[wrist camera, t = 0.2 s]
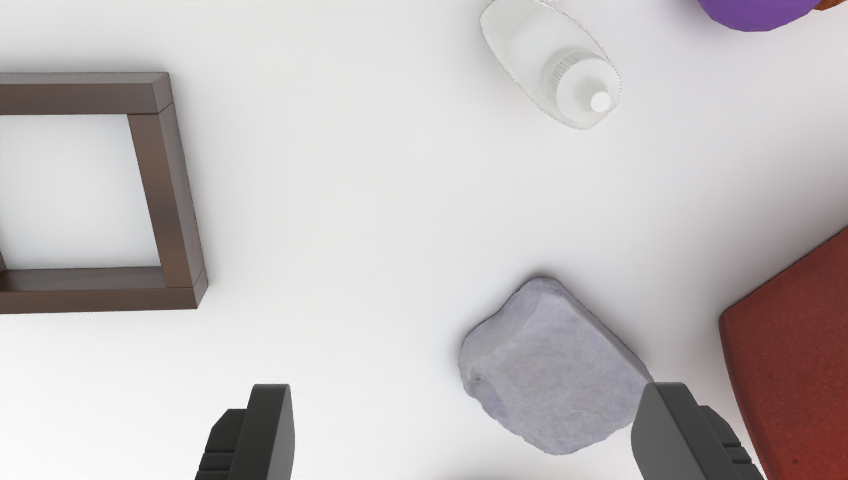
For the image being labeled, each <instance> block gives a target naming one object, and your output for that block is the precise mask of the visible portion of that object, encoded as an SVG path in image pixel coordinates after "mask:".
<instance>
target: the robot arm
mask: <svg viewBox="0 0 848 480" xmlns="http://www.w3.org/2000/svg"><path fill="white" fill-rule="evenodd" d="M631 445H632V451H633V455H634V458H635V460H636V462H637V465H638V467H639V469H640V471H641V474H642V476H643V478H644V480H764V478H763V477H762V475H761V473H760V472H759V470H758V469H757V467H756V466H755V464H752V459H751V458H750V456H749V455H748V453H747V452H746V450H745V449H744V447H741V442H740V441H739V439H738V438H737V436H736V435H735V433H734V431H733V430H732V428H731V427H730V425H729V424H728V423H727V422H726V421H725V420H724V419H723V418H722V417H720V416H719V415H718V414H717V413H716V412H715V411H714V410H712V409H711V408H710V407H709V406H698V404H697V402H696V401H695V399H694V397H693V396H692V394H691V393H690V391H689V389H688V388H687V386H686V385H685V384H683V383H681V382H650V383H647V384H646V385H645V387H644V390H643V393H642V396H641V400H640V403H639V406H638V410H637V413H636V417H635V420H634V423H633V427H632V431H631ZM294 449H295V431H294V421H293V411H292V401H291V391H290V386H289V384H255V385H254V386H253V388H252V392H251V395H250V399H249V402H248V406H247V409H228V410H227V411H226V412H225V413H224V414H223V416H222V417H221V418H220V419H219V420H218V421H217V423H216V424H215V425H214V426H213V427H212V429H211V432H210V435H209V438H208V441H207V444H206V447H205V453H203V456H202V459H201V462H200V465H199V471H197V474H196V477H195V480H290V478H291V472H292V466H293V459H294Z"/></svg>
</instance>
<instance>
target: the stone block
mask: <svg viewBox="0 0 848 480" xmlns="http://www.w3.org/2000/svg"><path fill="white" fill-rule="evenodd" d="M458 366H459V369H460V374H461V378H462V381H463V384H464V389H465V391H466V393H467V394H468V395H469V396H471V397H473V398H475V399H477V400H478V401H479V402H480V403H481V405H482V407H483V409H484V410H485V412H486V413H488V415H489V416H490V417H492V418H493V419H495V420H497V421H498V422H499V423H500V424H501V425H502V426H503V427H504V428H506V429H508V430H509V431H511V432H512V433H514V434H517V435H520V436H522V437H523V438H524V440H525V441H526V442H528V443H530V444H532V445H534V446H535V447H537V448H539V449H540V450H542V451H544V452H545V453H549V454H551V455H565V454H571V453H574V452H576V451H578V450H580V449H582V448H584V447H587V446H589V445H591V444H593V443H596V442H599V441H602V440H605V439H606V438H607V437H608V436H609V435H610V434H612V433H613V432H615V431H616V430H618V429H621V428H624V427H626V426H628V425H629V424H630V423H631V422H633V421H634V420H635V417H636V413H637V410H638V406H639V403H640V400H641V396H642V393H643V390H644V387H645V385H646V384H647V383H650V382H654V380H653V378H652V377H651V375H650V374H649V372H648V371H647V368H646V366H645V365H644V364H643V362H642V361H641V360H639V359H638V358H637V357H636V356H635V354H633V353H632V352H631V351H630V350H629V349H628V348H627V347H626V346H625V345H624V344H623V343H622V342H621V341H620V340H619V339H618V338H616V337H615V336H614V335H613V334H612V333H611V332H610V331H609V330H608V329H607V328H606V327H605V326H604V325H603V324H602V323H601V322H600V321H599V320H598V319H597V318H596V317H595V316H594V315H593V314H592V313H591V312H589V311H588V310H587V309H586V308H585V307H584V306H583V305H582V304H581V303H580V302H579V301H578V300H577V299H576V298H575V297H574V296H573V295H572V294H571V293H569V292H568V290H567V289H566V288H565V287H564V286H562V284H561V283H560V282H558V281H557V280H555V279H553V278H539V277H537V278H533V279H532V280H531V281H528V282H527V283H526V284H525V285H524V286H523V287H521V288H520V290H519V291H518V292H515V293H514V294H513V295H512V296H511V297H510V298H509V299H508V301H507V302H506V304H505V305H504V306H503V308H502V309H501V310H500V311H499V312H498V313H497V314H495V315H493V316H492V317H490V318H489V319H487V320H486V321H485V322H483V323H482V324H480V325H478V326H477V327H476V328H475V329H474V330H473V331H472V332H471V333H470V334H469V335H468V336H467V337H466V338H465V340H464V344H463V347H462V349H461V352H460V355H459V365H458Z"/></svg>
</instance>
